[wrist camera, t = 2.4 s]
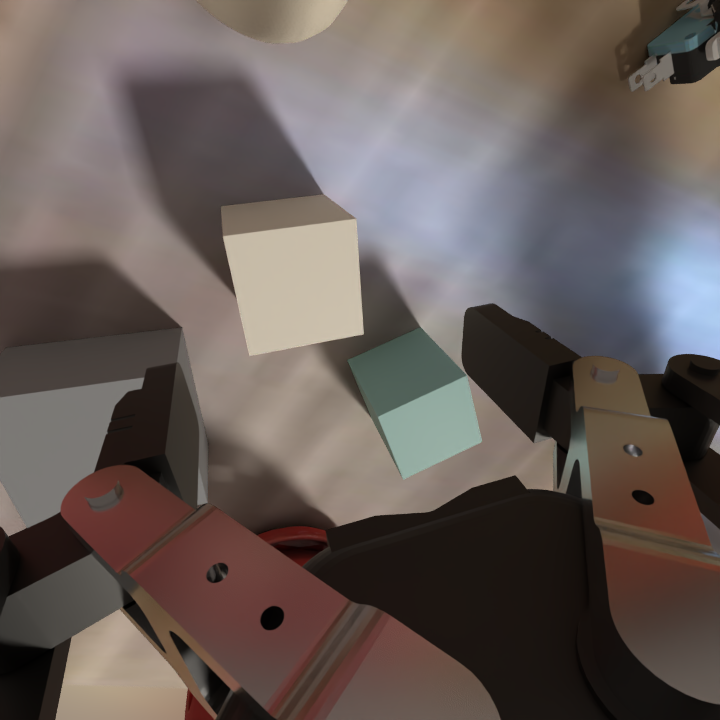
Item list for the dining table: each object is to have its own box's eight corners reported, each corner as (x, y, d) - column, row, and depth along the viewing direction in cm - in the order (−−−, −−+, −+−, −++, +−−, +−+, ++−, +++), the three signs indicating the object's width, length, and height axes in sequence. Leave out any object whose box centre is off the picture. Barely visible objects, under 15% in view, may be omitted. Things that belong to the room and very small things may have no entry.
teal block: (420, 326, 27) (466, 375, 22) (437, 386, 30) (482, 441, 25) (346, 359, 27) (377, 416, 22) (371, 417, 30) (403, 479, 24)
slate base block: (182, 325, 23) (175, 373, 19) (208, 442, 27) (207, 503, 23) (7, 345, 21) (-44, 403, 17) (63, 468, 25) (33, 539, 21)
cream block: (323, 194, 22) (356, 218, 17) (332, 288, 24) (363, 334, 19) (220, 206, 21) (223, 236, 16) (241, 303, 23) (249, 355, 18)
